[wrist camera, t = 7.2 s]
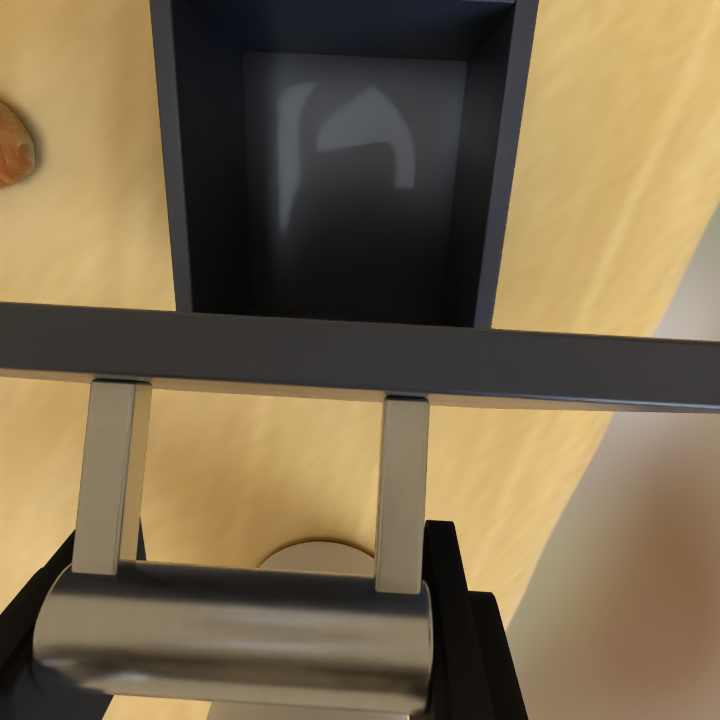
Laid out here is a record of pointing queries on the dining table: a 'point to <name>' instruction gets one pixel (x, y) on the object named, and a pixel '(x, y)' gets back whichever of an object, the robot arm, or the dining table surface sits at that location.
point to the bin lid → (278, 586)
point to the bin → (340, 154)
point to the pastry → (14, 149)
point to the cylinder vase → (319, 559)
